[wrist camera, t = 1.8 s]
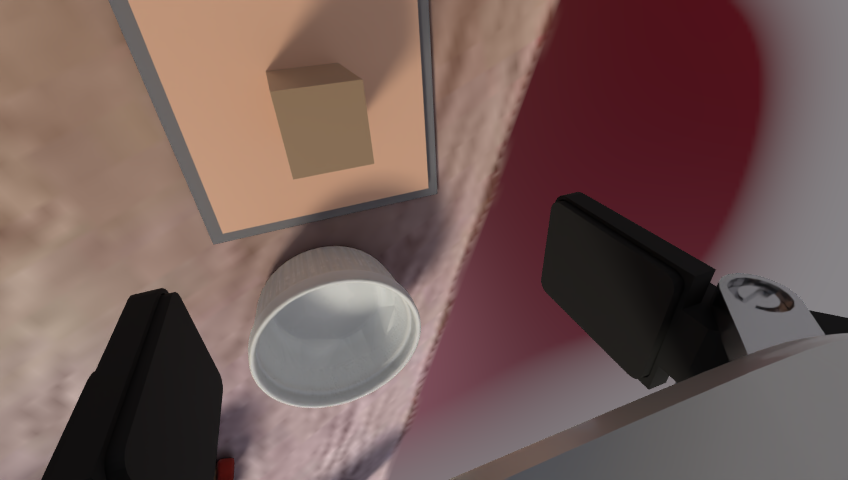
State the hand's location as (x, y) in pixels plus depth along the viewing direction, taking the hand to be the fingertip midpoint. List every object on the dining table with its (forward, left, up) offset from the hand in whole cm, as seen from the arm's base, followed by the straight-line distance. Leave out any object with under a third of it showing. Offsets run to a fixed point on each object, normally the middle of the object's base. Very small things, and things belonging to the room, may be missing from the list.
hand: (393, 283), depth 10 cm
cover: (0, 0, -21) cm, 21 cm away
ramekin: (+17, -2, -21) cm, 27 cm away
